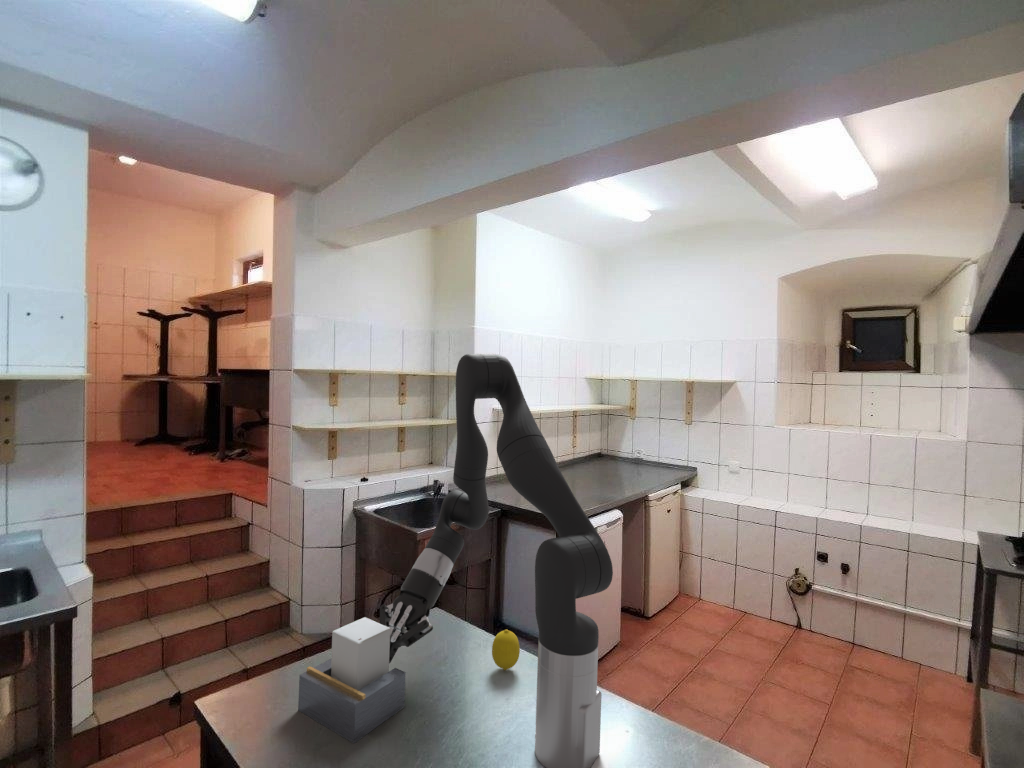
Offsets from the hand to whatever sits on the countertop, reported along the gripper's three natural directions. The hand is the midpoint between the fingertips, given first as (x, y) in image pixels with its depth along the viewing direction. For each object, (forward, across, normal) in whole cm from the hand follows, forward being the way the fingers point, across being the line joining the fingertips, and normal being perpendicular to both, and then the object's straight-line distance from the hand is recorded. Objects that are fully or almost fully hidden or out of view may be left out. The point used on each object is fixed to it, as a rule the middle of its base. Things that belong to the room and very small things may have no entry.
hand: (380, 663), depth 92 cm
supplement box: (+6, 0, 0) cm, 7 cm away
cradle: (+7, 0, 0) cm, 7 cm away
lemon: (-10, +15, +17) cm, 25 cm away
